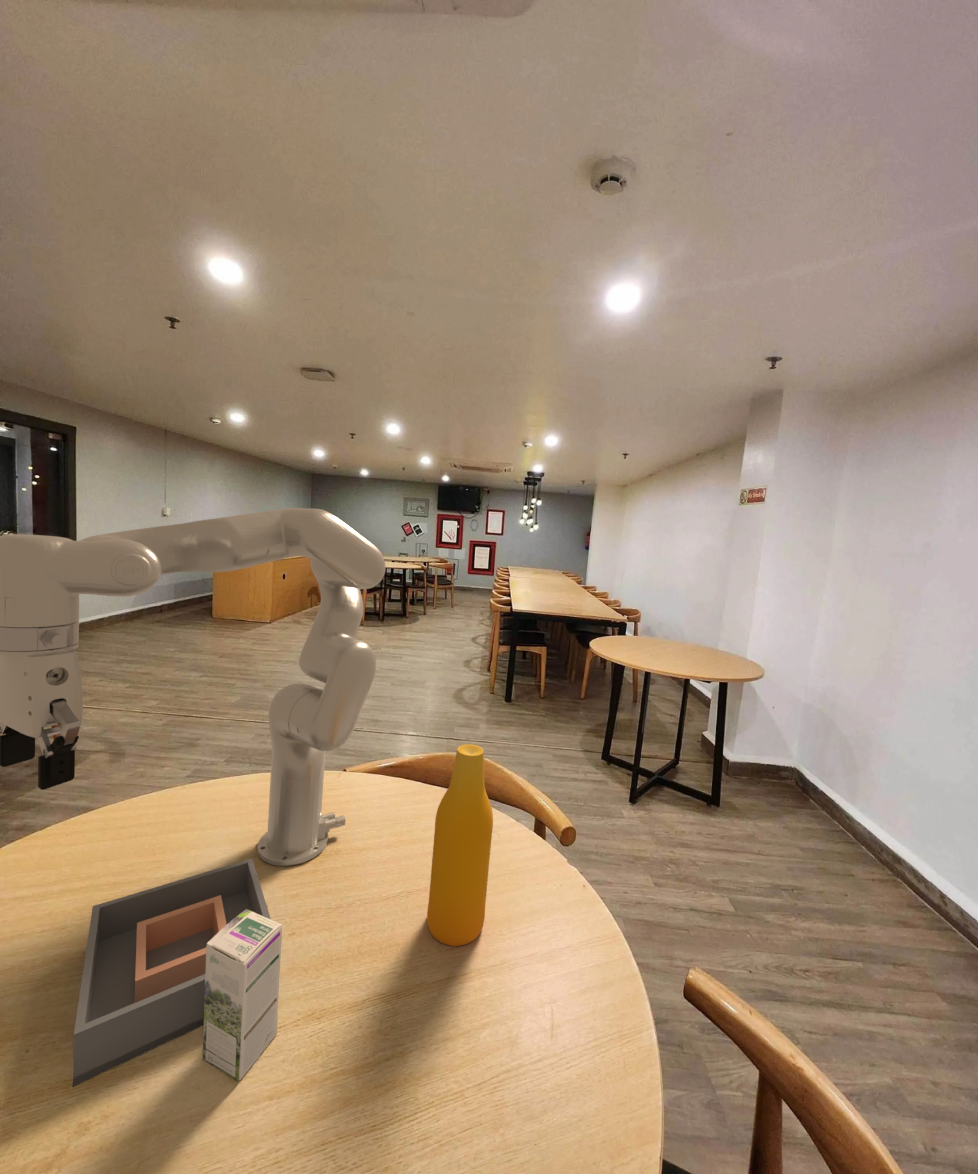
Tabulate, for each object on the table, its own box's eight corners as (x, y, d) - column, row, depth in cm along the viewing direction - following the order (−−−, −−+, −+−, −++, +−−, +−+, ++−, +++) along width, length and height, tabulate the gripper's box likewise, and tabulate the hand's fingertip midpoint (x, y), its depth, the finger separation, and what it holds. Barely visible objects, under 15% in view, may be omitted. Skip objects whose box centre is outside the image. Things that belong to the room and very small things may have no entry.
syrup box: (279, 1033, 55) (285, 920, 54) (237, 1086, 49) (244, 961, 48) (242, 1014, 56) (248, 904, 55) (198, 1063, 51) (204, 942, 50)
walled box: (250, 892, 76) (252, 858, 75) (277, 990, 60) (279, 948, 59) (91, 946, 64) (92, 906, 63) (72, 1087, 48) (73, 1035, 47)
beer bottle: (493, 917, 75) (509, 748, 73) (464, 959, 67) (482, 770, 65) (447, 893, 79) (460, 733, 77) (414, 930, 71) (429, 751, 69)
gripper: (113, 644, 55) (111, 780, 56) (41, 623, 62) (41, 744, 63) (30, 655, 48) (30, 809, 49) (-40, 630, 55) (-38, 766, 56)
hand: (36, 772), depth 56 cm, fingers open, 9 cm apart
